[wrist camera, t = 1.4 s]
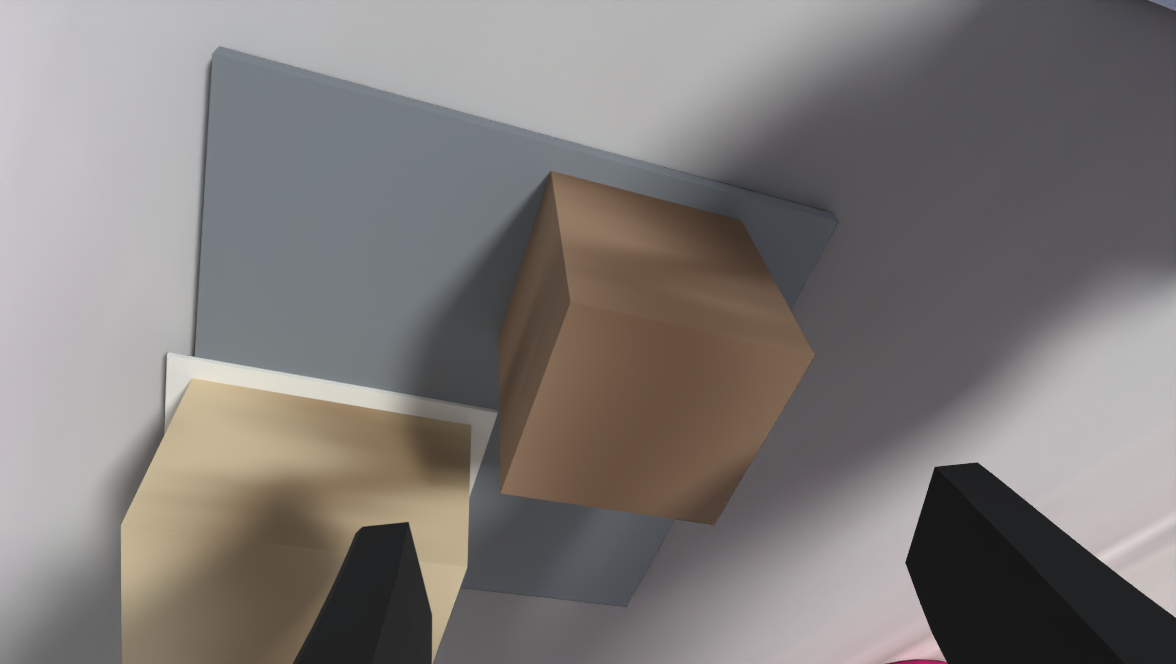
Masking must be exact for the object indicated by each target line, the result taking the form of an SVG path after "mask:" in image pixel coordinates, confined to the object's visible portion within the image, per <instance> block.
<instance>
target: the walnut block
mask: <svg viewBox="0 0 1176 664" xmlns="http://www.w3.org/2000/svg"><path fill="white" fill-rule="evenodd" d="M498 356H499V428H500V493H501V494H508V495H515V496H521V497H528V498H535V499H542V500H548V501H555V502H562V503H569V504H575V505H582V506H589V507H596V508H603V509H609V510H616V511H623V512H630V513H636V514H643V515H650V516H657V517H663V518H670V519H677V520H684V521H690V522H697V523H704V524H711V525H714V524H715V523H716V521H717V519H718V518H719V516H720V514H721V513H722V511H723V509H724V508H725V506H726V504H727V503H728V501H729V499H730V498H731V496H732V494H733V492H734V491H735V489H736V487H737V486H738V484H739V482H740V481H741V479H742V477H743V476H744V474H745V472H746V471H747V469H748V467H749V466H750V464H751V462H752V460H753V459H754V457H755V455H756V454H757V452H758V450H759V449H760V447H761V445H762V444H763V442H764V440H765V439H766V437H767V435H768V434H769V432H770V430H771V429H772V427H773V425H774V423H775V422H776V420H777V418H778V417H779V415H780V413H781V412H782V410H783V408H784V407H785V405H786V403H787V402H788V400H789V398H790V397H791V395H792V393H793V392H794V390H795V388H796V386H797V385H798V383H799V381H800V380H801V378H802V376H803V375H804V373H805V371H806V370H807V368H808V366H809V365H810V363H811V361H812V360H813V358H814V356H815V354H814V352H813V350H812V348H811V347H810V345H809V343H808V341H807V339H806V337H805V336H804V334H803V332H802V330H801V328H800V327H799V325H798V323H797V321H796V319H795V317H794V316H793V314H792V312H791V310H790V308H789V306H788V305H787V303H786V301H785V299H784V297H783V296H782V294H781V292H780V290H779V288H778V286H777V285H776V283H775V281H774V279H773V277H772V275H771V274H770V272H769V270H768V268H767V266H766V265H765V263H764V261H763V259H762V257H761V255H760V254H759V252H758V250H757V248H756V246H755V244H754V243H753V241H752V239H751V237H750V235H749V234H748V232H747V230H746V228H745V226H744V224H743V223H742V221H741V220H739V219H735V218H731V217H727V216H723V215H719V214H715V213H712V212H708V211H704V210H700V209H696V208H692V207H689V206H685V205H681V204H677V203H673V202H669V201H666V200H662V199H658V198H654V197H650V196H646V195H642V194H639V193H635V192H631V191H627V190H623V189H619V188H616V187H612V186H608V185H604V184H600V183H596V182H592V181H589V180H585V179H581V178H577V177H573V176H569V175H566V174H562V173H558V172H554V171H551V172H550V175H549V179H548V182H547V185H546V188H545V191H544V194H543V198H542V201H541V204H540V207H539V210H538V213H537V217H536V220H535V223H534V226H533V229H532V232H531V236H530V239H529V242H528V245H527V248H526V251H525V255H524V258H523V261H522V264H521V267H520V270H519V274H518V277H517V280H516V283H515V286H514V289H513V293H512V296H511V299H510V302H509V305H508V308H507V312H506V315H505V318H504V321H503V324H502V327H501V330H500V334H499V337H498Z"/></svg>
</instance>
